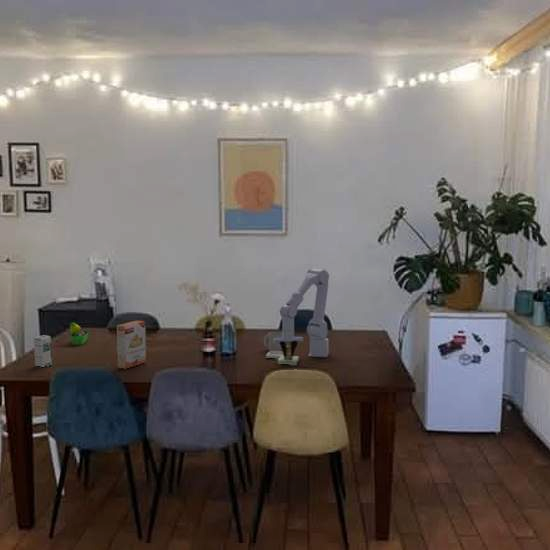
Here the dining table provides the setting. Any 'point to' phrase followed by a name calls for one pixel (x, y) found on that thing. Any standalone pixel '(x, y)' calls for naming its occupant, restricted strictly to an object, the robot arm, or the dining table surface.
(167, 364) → the dining table surface
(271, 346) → the cup
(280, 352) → the tray
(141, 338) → the cracker box
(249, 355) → the dining table surface
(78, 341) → the fruit basket
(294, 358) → the holder
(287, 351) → the peg
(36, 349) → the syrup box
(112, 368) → the dining table surface
